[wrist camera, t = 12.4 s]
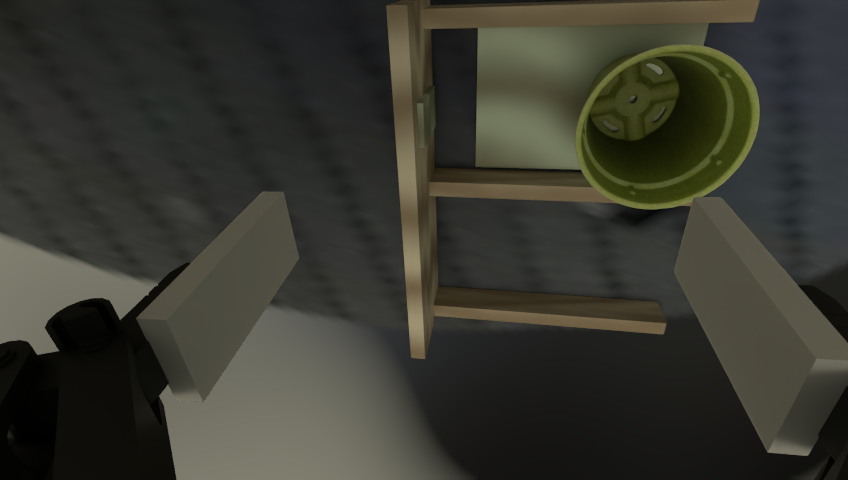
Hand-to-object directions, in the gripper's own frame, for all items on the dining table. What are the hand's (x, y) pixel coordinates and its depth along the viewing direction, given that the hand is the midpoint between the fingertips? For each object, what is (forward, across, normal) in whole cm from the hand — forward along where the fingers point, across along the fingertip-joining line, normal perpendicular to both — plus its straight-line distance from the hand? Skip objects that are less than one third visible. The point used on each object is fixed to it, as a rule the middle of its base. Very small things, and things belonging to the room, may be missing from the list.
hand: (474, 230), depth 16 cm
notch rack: (+23, +5, -8) cm, 24 cm away
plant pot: (+22, +10, -2) cm, 25 cm away
